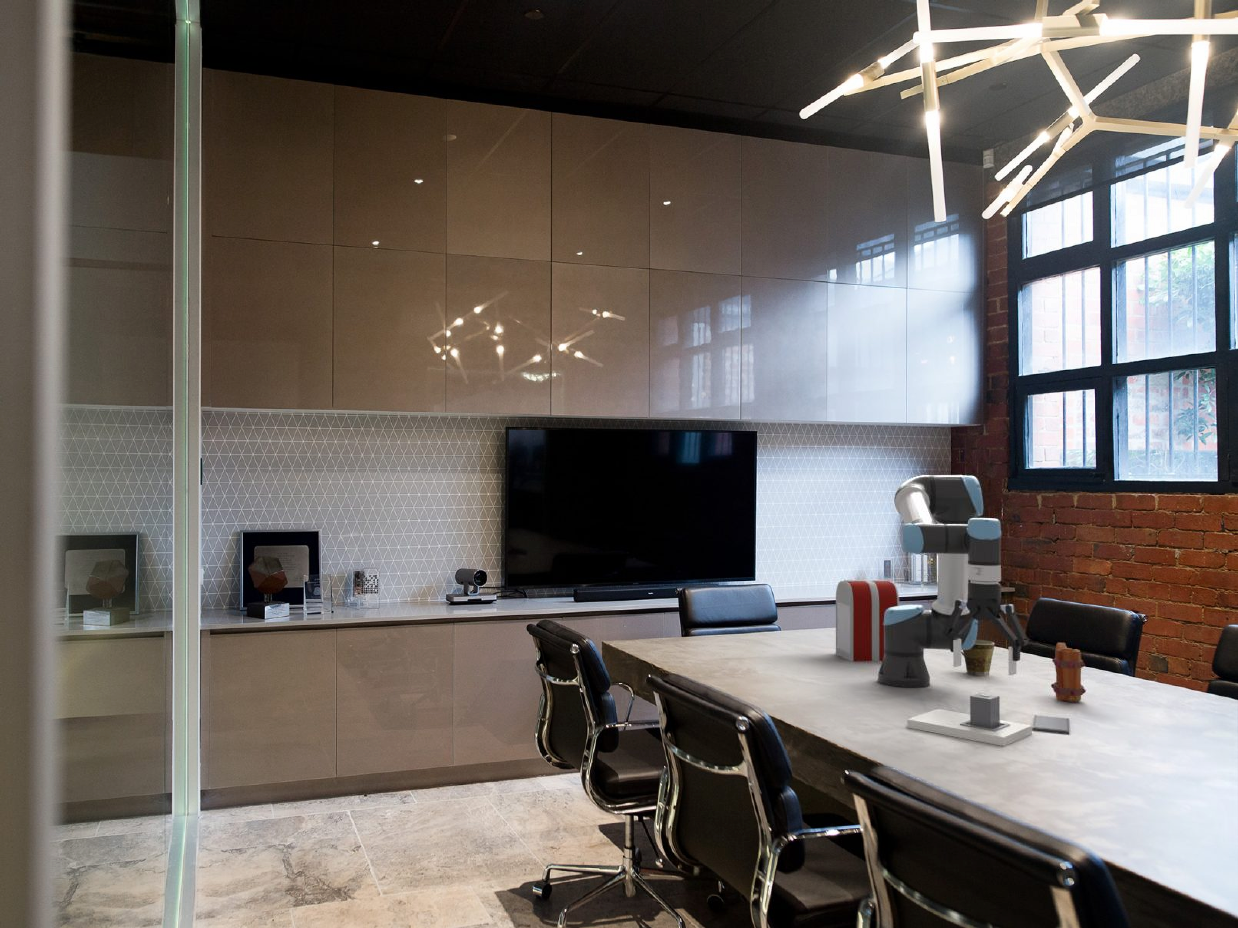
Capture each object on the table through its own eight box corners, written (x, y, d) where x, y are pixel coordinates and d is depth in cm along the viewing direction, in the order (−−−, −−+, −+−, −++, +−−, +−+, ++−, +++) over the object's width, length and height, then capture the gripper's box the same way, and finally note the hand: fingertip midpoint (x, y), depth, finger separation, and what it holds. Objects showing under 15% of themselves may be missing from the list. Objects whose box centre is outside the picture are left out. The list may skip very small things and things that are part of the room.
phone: (1032, 732, 232) (1032, 727, 232) (1034, 719, 245) (1034, 714, 245) (1069, 736, 228) (1069, 730, 228) (1068, 723, 242) (1068, 717, 242)
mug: (1088, 704, 260) (1088, 649, 261) (1057, 703, 262) (1056, 648, 262) (1074, 693, 275) (1074, 641, 275) (1044, 692, 276) (1044, 640, 277)
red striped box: (834, 653, 341) (834, 578, 342) (882, 652, 343) (881, 577, 344) (850, 661, 325) (850, 582, 326) (900, 660, 327) (900, 582, 328)
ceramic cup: (1001, 674, 304) (1000, 642, 304) (982, 677, 298) (981, 645, 298) (966, 667, 314) (965, 637, 315) (947, 670, 309) (946, 640, 309)
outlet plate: (907, 727, 234) (907, 717, 234) (937, 716, 245) (937, 707, 246) (1003, 746, 217) (1003, 735, 217) (1031, 733, 228) (1031, 724, 229)
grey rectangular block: (970, 733, 229) (970, 695, 229) (979, 729, 232) (979, 692, 232) (990, 737, 225) (990, 698, 225) (999, 733, 229) (999, 695, 229)
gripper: (928, 579, 236) (928, 664, 235) (1030, 587, 218) (1030, 680, 218) (942, 576, 241) (942, 660, 241) (1043, 585, 223) (1043, 675, 223)
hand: (984, 670), depth 229 cm, fingers open, 13 cm apart
